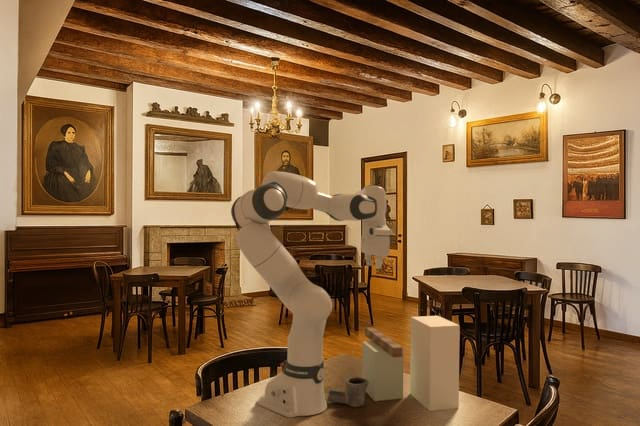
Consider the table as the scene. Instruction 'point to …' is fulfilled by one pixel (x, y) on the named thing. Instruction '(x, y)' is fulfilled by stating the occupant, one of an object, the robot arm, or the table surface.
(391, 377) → the low stool
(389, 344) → the walnut bar
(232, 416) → the table surface
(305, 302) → the robot arm
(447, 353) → the tall stand
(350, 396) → the pipe
